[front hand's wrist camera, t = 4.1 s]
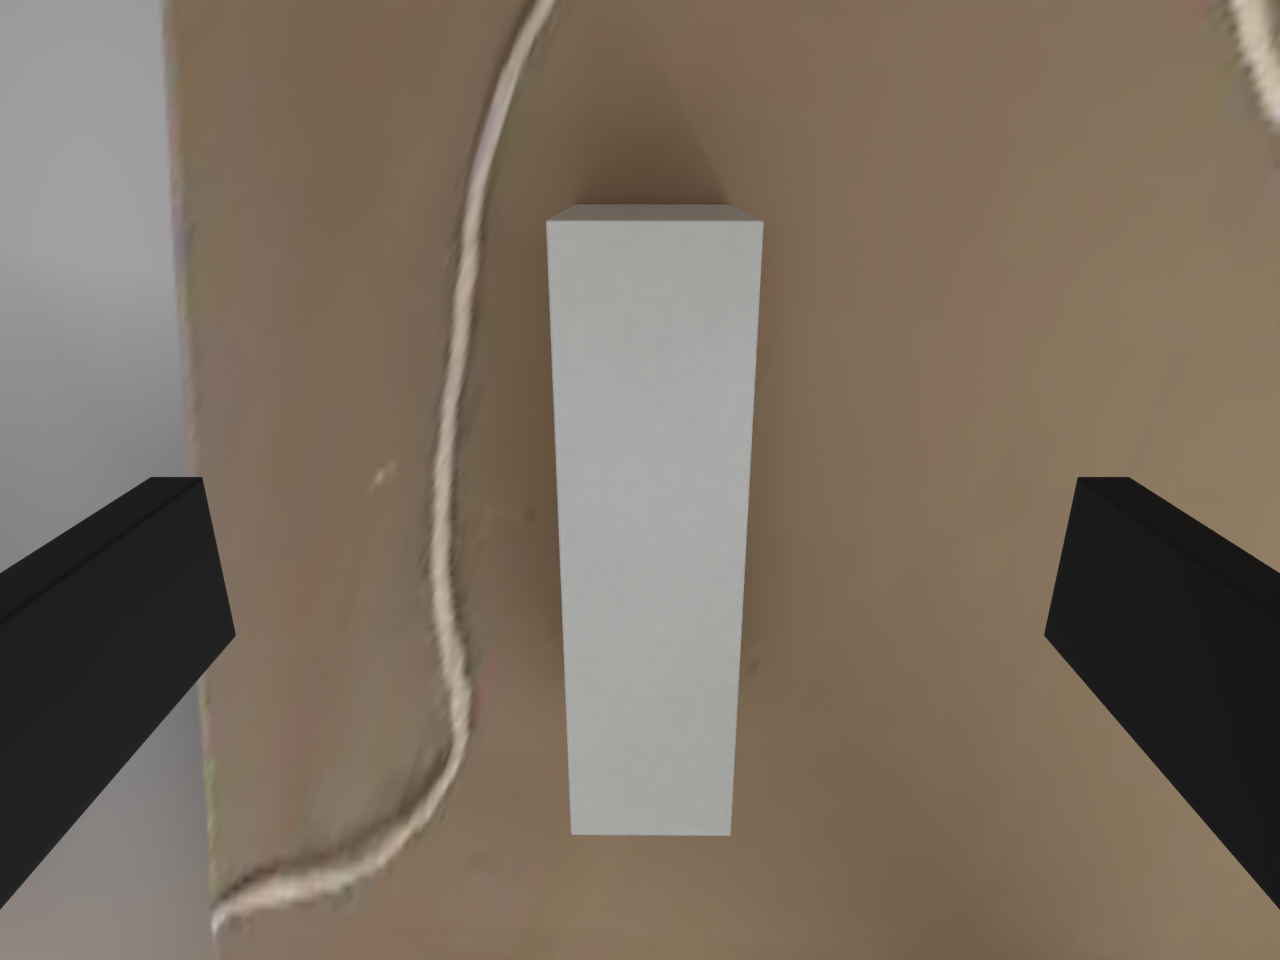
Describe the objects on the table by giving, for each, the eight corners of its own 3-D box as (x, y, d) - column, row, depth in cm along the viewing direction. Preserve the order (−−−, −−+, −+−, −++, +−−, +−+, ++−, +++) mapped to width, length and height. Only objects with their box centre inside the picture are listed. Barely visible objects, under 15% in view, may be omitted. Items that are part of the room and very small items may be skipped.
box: (574, 204, 33) (545, 219, 24) (731, 204, 33) (764, 220, 24) (587, 684, 42) (570, 835, 32) (711, 685, 42) (730, 836, 32)
